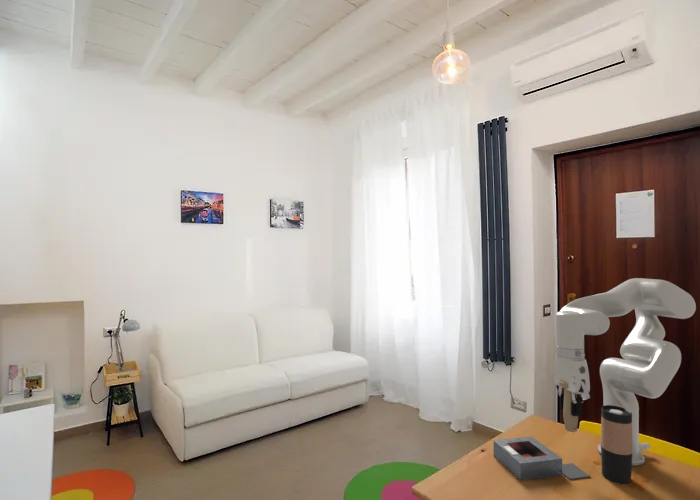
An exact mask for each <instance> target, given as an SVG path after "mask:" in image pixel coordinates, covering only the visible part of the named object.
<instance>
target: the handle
mask: <svg viewBox="0 0 700 500" xmlns="http://www.w3.org/2000/svg"><path fill="white" fill-rule="evenodd" d="M558 384H559V385H560V386H561V387H563V388H564V404H563V410H562V414H563V415H562V416H563V422H564V429H565V430H566V431H567V432H571V433H575V432H577V431H578V424H579V416H572V415H571V402H573V400H572V393H571V392H570V391H568V390H566V389H567V388H568V384H567V383H565V382H563V381H561V380H558ZM577 397H578V394H576V398H577Z"/></svg>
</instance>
